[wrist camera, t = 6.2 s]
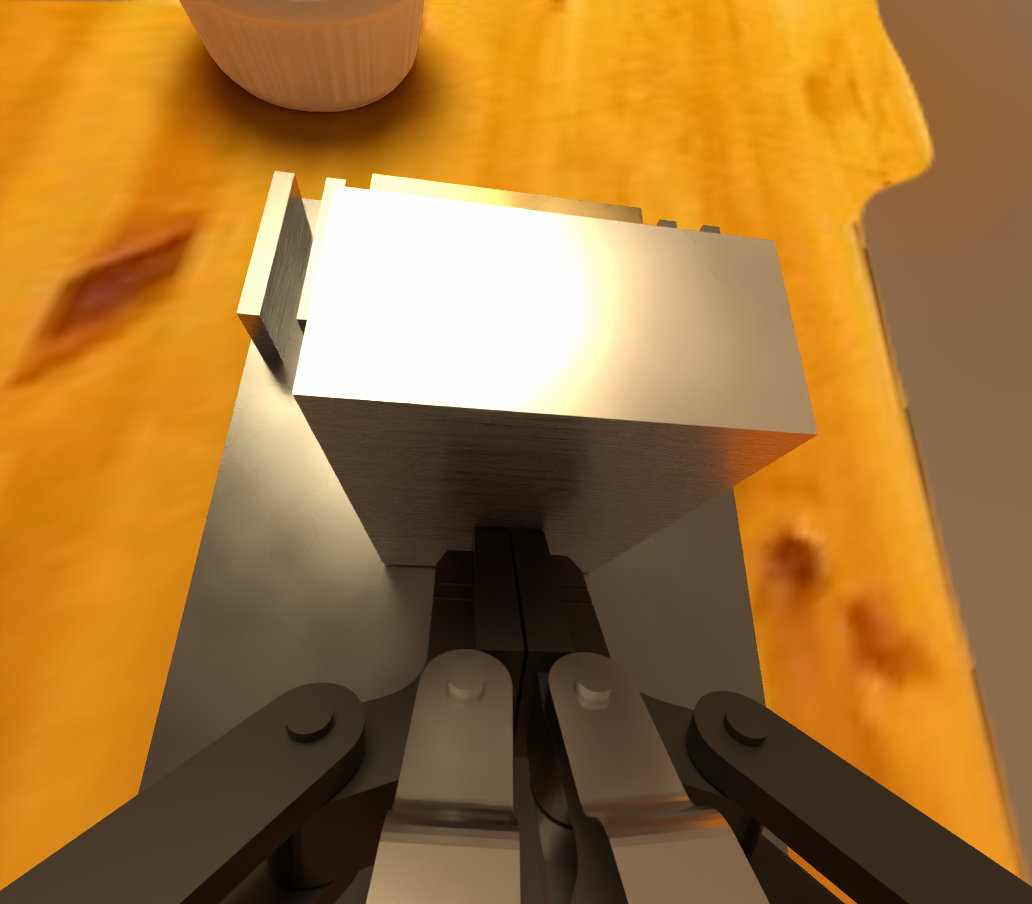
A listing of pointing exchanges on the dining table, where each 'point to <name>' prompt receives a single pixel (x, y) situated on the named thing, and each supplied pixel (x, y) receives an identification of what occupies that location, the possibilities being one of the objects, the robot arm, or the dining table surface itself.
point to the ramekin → (311, 48)
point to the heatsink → (396, 588)
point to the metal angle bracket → (541, 373)
